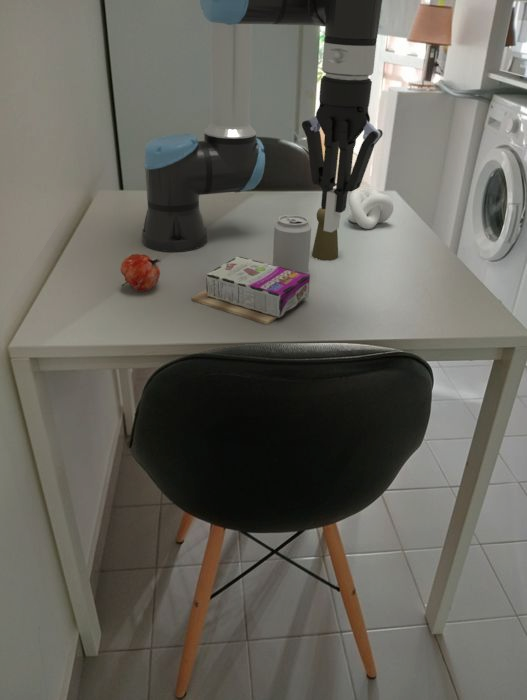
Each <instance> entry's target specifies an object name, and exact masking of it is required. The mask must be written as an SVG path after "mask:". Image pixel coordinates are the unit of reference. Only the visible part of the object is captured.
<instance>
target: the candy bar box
mask: <svg viewBox="0 0 527 700" xmlns="http://www.w3.org/2000/svg"><path fill="white" fill-rule="evenodd" d="M205 278H206V279H205V280H206V289H207V297H211V298H214V299H218V300H221V301H224V302H228V303H231V304H235V305H238V306H242V307H245V308H248V309H251V310H255V311H258V312H261V313H265V314H268V315H271V316H275V317H278V318H277V319H280V318H282V317H283V316H284V315H286V314H287V313H288V312H289V311H291V310H292V309H294V308H295V307H296V306H298V305H299V304H300V303H302V302H303V301H304V300H306V299H307V298H309V294H310V283H311V282H310V279H311V277H310V274H309V273H307V274H305V273H301V272H297V271H294V270H290V269H286V268H282V267H278V266H274V265H273V264H270V263H265V262H262V261H257V260H254V259H250V258H247V257H242V256H239V255H238V256H236V257H235V258H234V257H233V258H232V259H231V260H228V262H225V263H223V264H222V265H219V267H216V268H215V269H213V270H211V271H209V272H208V273H206V274H205Z"/></svg>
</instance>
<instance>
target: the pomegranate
mask: <svg viewBox="0 0 527 700" xmlns="http://www.w3.org/2000/svg"><path fill="white" fill-rule="evenodd" d="M161 261H162V260H160V259H158V258H156V259H153V258H152V257H151V256H149V255H148V254H147V255H146V254H142V253H141V254H139V253H132V254H131V255H129V256H127V257H125V259H124V260H123V261H122V263H121V265H120V268H119V269H120V273H121V274H122V275H123V277H124V281H125V282H124V283H123V284H121V287H124V286H125V285H127V284H128V285H129V286H131V287H132V288H133V289H134V290H135V291H137V292H146V291H149V290H150V289H152V288H153V287H154V286H155V285H156V284H157V283H158V282H159V279H160V276H161V270H160V267H159V266H158V264H157V263H159V262H160V263H161Z"/></svg>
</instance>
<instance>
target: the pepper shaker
mask: <svg viewBox="0 0 527 700" xmlns="http://www.w3.org/2000/svg"><path fill="white" fill-rule="evenodd" d="M316 220H317V222H318V223H317V229H316V232H315V237H314V242H313V248H312V251H311V257H312V258H314V259H316V258H317V259H316V260H319V259H320V260H319V261H326V260H329V261H334V260H336V259H338V258H339V242H338V241H339V240H338V239H339V238H338V237H339V236H338V229H336V230H335V231H333V232H332V233H331V232H327V231H323V230H324V220H325V209H322V207H320V208H319V209H318V210H317V212H316Z"/></svg>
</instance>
